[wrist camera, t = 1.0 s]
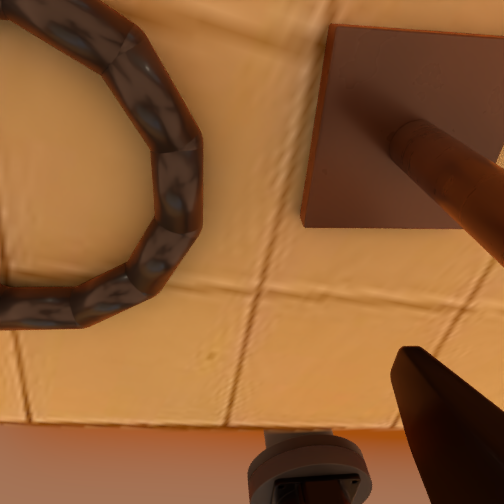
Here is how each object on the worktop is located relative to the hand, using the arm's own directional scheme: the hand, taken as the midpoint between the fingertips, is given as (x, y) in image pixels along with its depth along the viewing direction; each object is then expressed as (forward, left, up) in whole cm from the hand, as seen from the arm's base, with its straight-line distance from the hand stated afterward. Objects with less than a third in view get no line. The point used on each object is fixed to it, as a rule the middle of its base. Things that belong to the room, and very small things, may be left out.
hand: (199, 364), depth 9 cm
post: (+2, -9, -10) cm, 14 cm away
